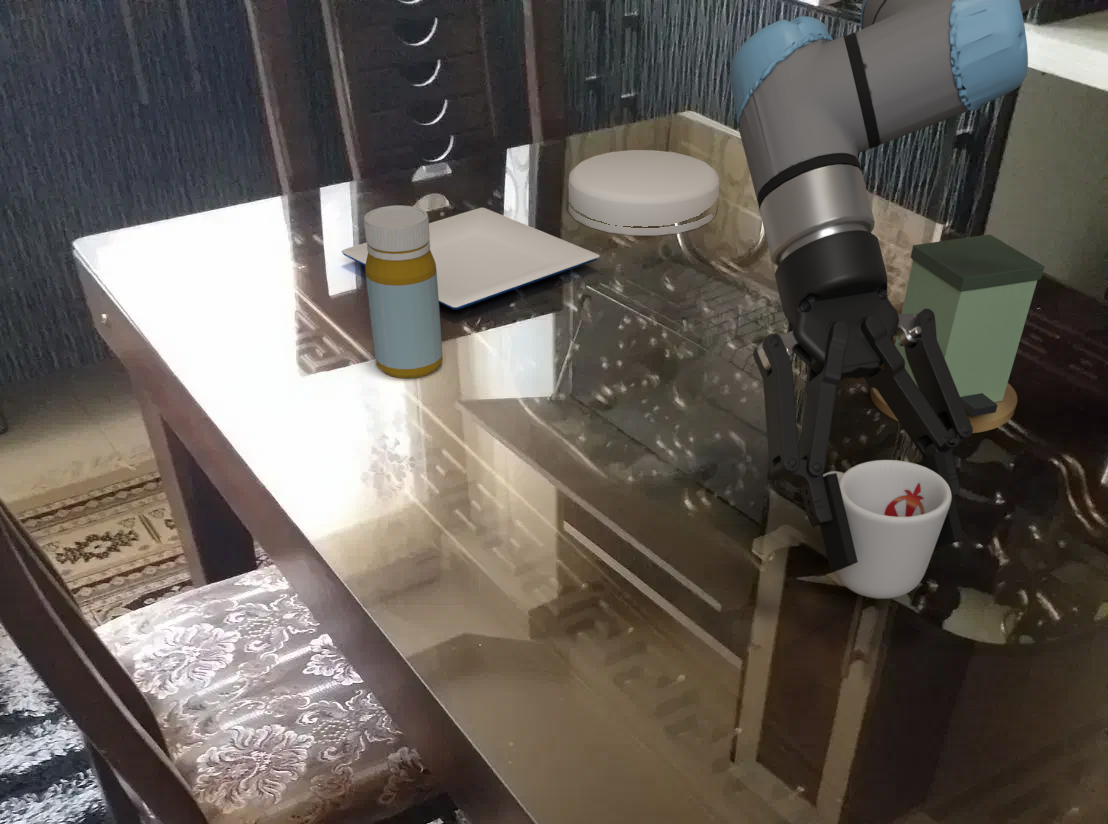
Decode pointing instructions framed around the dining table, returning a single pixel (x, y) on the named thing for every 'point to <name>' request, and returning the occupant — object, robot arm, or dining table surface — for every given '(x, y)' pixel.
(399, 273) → the bottle
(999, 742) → the dining table surface
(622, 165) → the container
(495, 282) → the plate
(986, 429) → the disc
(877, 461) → the cup
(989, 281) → the bin
